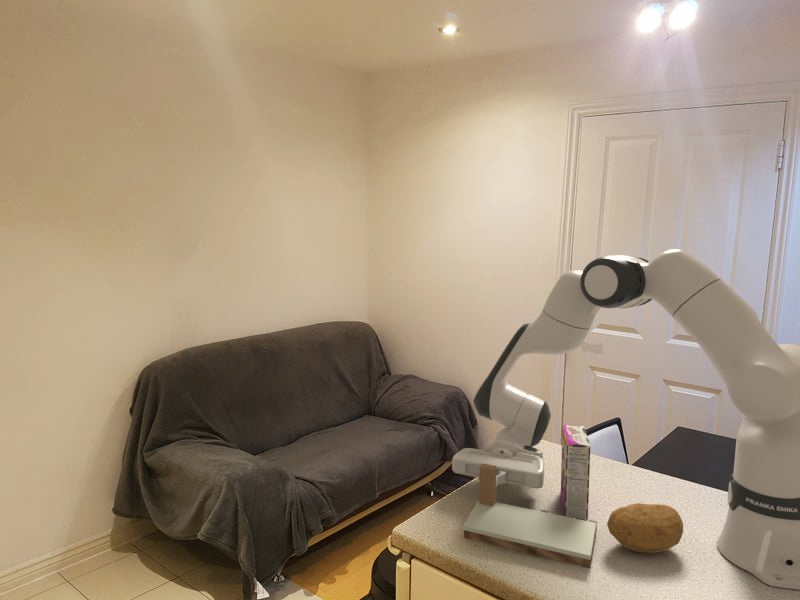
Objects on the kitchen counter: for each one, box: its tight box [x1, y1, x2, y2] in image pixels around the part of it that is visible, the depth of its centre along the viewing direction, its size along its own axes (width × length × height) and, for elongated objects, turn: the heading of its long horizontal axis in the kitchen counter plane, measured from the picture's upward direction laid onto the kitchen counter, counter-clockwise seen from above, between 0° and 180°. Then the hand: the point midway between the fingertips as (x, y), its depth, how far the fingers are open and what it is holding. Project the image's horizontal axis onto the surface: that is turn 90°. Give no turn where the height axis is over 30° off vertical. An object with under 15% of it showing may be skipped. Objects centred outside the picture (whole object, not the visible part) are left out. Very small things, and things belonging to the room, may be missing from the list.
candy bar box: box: [560, 424, 591, 521], centre depth 118 cm, size 11×5×16 cm, turn 168°
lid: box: [462, 463, 596, 560], centre depth 106 cm, size 24×12×9 cm, turn 66°
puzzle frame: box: [463, 509, 598, 569], centre depth 108 cm, size 24×13×2 cm, turn 66°
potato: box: [606, 502, 684, 553], centre depth 103 cm, size 10×14×8 cm
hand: (489, 483), depth 115 cm, fingers closed, pressing on lid
